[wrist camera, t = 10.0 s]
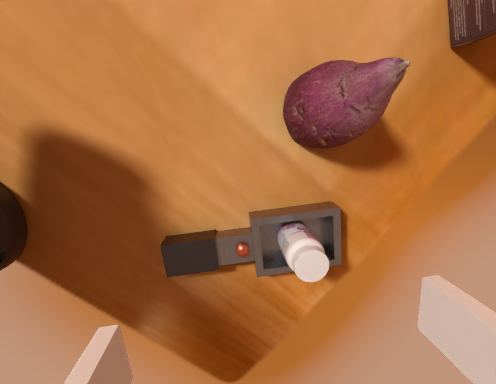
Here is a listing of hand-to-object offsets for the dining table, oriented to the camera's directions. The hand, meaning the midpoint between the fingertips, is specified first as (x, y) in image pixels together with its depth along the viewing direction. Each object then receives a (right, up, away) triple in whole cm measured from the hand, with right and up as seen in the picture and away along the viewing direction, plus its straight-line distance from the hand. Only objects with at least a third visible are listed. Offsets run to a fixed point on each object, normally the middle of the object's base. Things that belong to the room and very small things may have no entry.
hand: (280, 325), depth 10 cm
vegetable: (+8, +17, +22) cm, 29 cm away
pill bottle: (+5, -1, +25) cm, 25 cm away
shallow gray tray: (-1, -1, +25) cm, 25 cm away
